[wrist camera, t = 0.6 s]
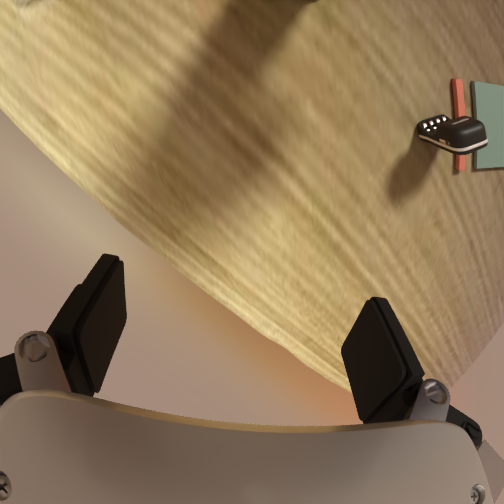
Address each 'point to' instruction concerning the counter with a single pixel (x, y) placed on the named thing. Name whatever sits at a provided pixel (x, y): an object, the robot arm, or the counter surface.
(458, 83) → the bar
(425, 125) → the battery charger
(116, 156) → the counter surface
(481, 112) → the mat
